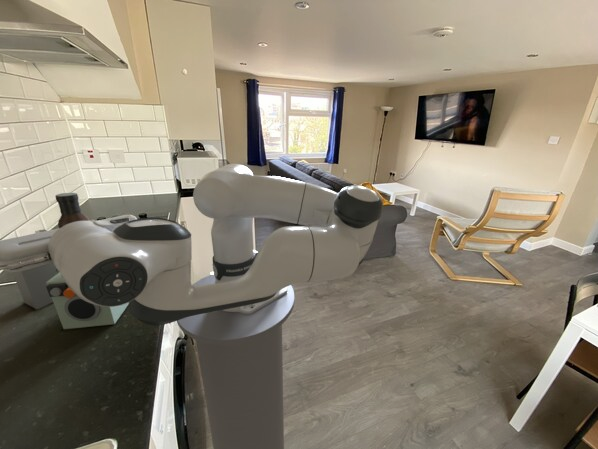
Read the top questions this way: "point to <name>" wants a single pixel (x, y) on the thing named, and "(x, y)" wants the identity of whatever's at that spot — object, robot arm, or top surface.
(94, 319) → the washer
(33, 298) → the perfume bottle
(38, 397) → the top surface
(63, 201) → the sauce bottle
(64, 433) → the top surface
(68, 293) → the button
